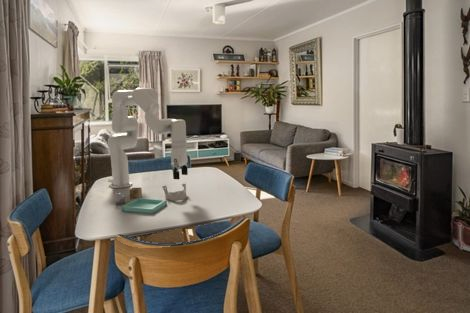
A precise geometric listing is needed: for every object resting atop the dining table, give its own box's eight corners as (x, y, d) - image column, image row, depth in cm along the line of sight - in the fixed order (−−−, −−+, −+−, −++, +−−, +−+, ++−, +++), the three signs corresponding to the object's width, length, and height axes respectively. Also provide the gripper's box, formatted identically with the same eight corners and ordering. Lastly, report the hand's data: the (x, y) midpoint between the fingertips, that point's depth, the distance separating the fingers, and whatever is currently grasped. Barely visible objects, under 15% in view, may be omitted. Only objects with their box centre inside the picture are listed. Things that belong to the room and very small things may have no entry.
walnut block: (129, 199, 173) (129, 190, 173) (132, 196, 178) (132, 187, 177) (139, 199, 173) (138, 190, 172) (142, 196, 178) (141, 187, 177)
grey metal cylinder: (113, 204, 164) (112, 194, 163) (119, 202, 169) (118, 191, 168) (121, 205, 163) (120, 194, 162) (127, 202, 168) (126, 192, 167)
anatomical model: (167, 202, 164) (164, 182, 166) (164, 204, 174) (161, 186, 176) (192, 198, 169) (189, 179, 171) (187, 201, 179) (185, 183, 181)
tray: (122, 211, 154) (121, 206, 154) (138, 202, 168) (138, 197, 167) (152, 214, 150) (152, 209, 150) (166, 204, 163) (166, 200, 163)
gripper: (179, 141, 175) (181, 172, 178) (164, 146, 158) (166, 180, 161) (192, 141, 173) (194, 173, 176) (178, 146, 156) (180, 181, 159)
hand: (180, 176), depth 168 cm, fingers open, 9 cm apart
